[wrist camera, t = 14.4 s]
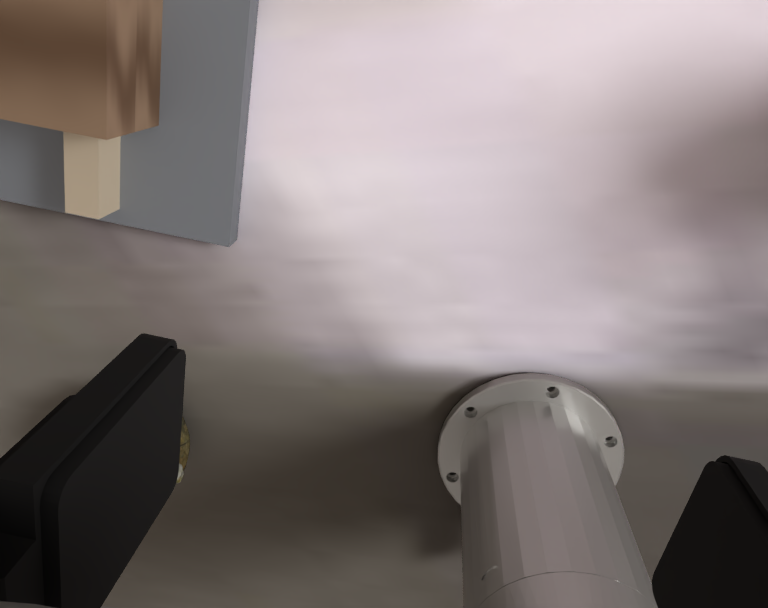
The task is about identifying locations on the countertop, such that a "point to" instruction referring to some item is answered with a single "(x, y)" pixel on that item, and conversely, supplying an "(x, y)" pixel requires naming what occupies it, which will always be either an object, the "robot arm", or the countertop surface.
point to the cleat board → (156, 138)
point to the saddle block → (81, 65)
